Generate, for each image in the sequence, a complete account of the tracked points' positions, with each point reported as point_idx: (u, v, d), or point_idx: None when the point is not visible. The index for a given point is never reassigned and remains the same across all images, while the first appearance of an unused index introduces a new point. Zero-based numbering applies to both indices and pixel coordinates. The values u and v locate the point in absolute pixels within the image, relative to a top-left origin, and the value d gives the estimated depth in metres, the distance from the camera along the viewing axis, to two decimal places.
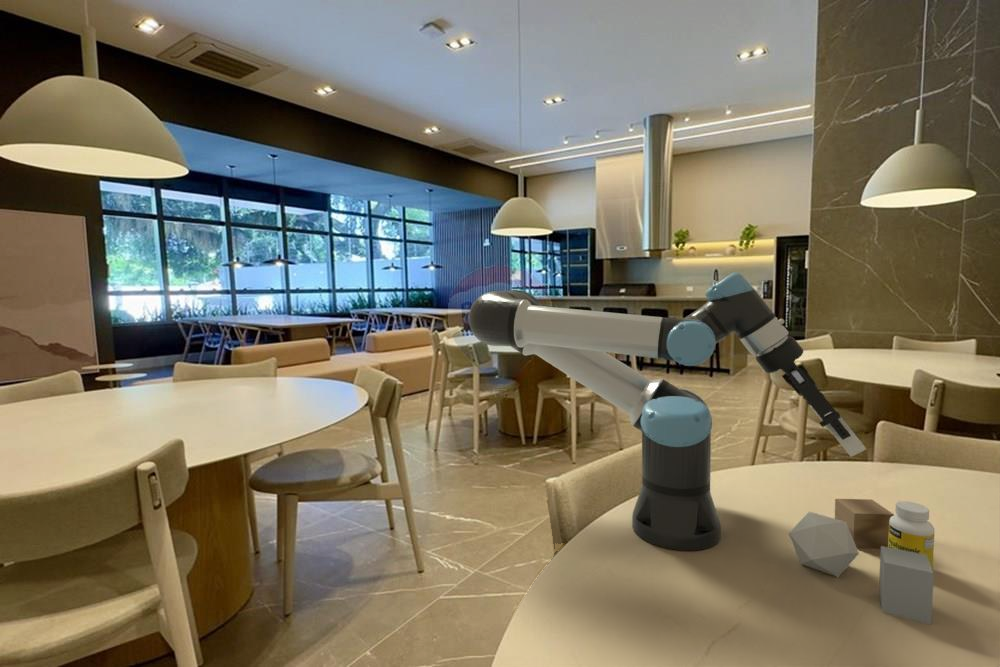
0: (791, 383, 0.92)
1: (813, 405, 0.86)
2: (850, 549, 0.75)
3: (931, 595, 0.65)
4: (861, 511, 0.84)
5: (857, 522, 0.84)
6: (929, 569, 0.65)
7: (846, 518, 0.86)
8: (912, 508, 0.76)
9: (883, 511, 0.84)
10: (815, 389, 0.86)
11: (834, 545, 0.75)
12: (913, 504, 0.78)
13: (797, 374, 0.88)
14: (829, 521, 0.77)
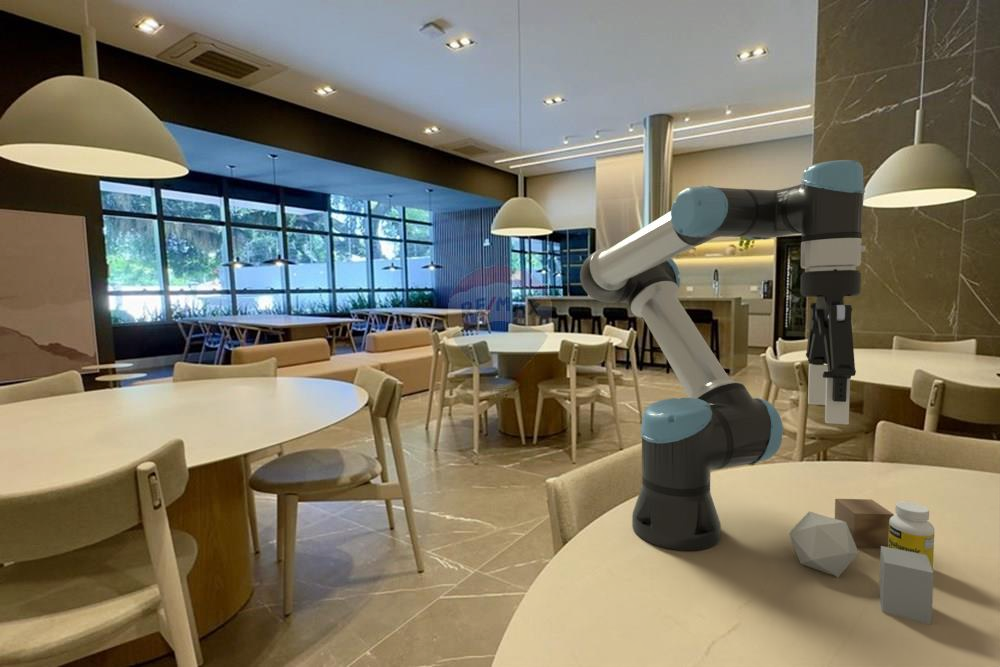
0: (821, 318, 0.74)
1: (834, 349, 0.69)
2: (850, 549, 0.75)
3: (931, 595, 0.65)
4: (861, 511, 0.84)
5: (857, 522, 0.84)
6: (929, 569, 0.65)
7: (846, 518, 0.86)
8: (912, 508, 0.76)
9: (883, 511, 0.84)
10: (849, 334, 0.68)
11: (834, 545, 0.75)
12: (913, 504, 0.78)
13: (841, 309, 0.69)
14: (829, 521, 0.77)
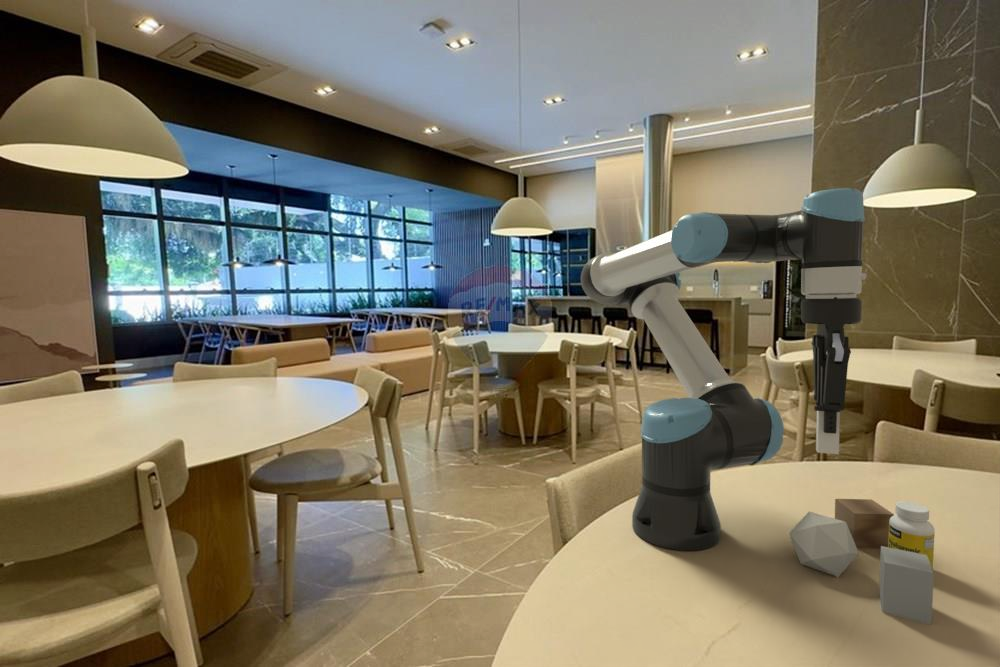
0: (820, 349, 0.74)
1: (827, 389, 0.72)
2: (850, 549, 0.75)
3: (931, 595, 0.65)
4: (861, 511, 0.84)
5: (857, 522, 0.84)
6: (929, 569, 0.65)
7: (846, 518, 0.86)
8: (912, 508, 0.76)
9: (883, 511, 0.84)
10: (844, 376, 0.71)
11: (834, 545, 0.75)
12: (913, 504, 0.78)
13: (840, 354, 0.70)
14: (829, 521, 0.77)
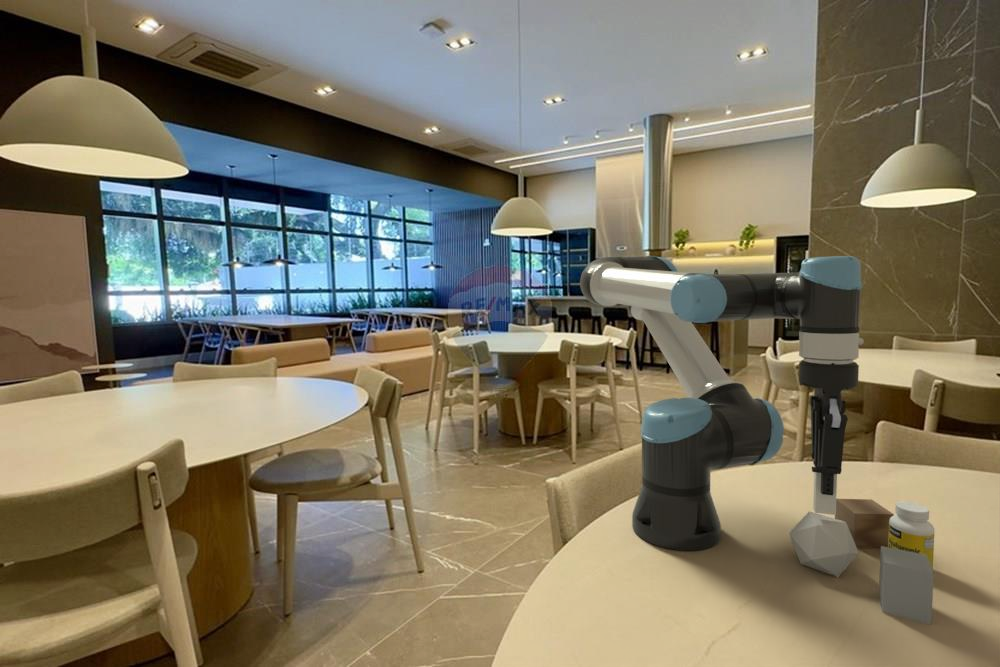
0: (818, 413, 0.75)
1: (825, 453, 0.73)
2: (850, 549, 0.75)
3: (931, 595, 0.65)
4: (861, 511, 0.84)
5: (857, 522, 0.84)
6: (929, 569, 0.65)
7: (846, 518, 0.86)
8: (912, 508, 0.76)
9: (883, 511, 0.84)
10: (841, 441, 0.72)
11: (834, 545, 0.75)
12: (913, 504, 0.78)
13: (837, 421, 0.71)
14: (828, 521, 0.77)
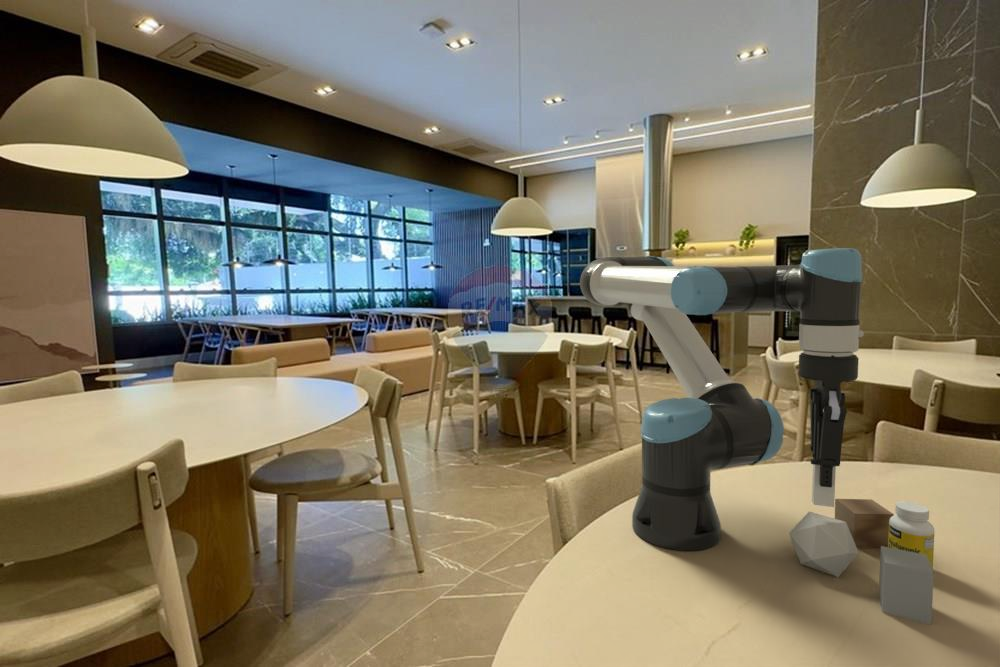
0: (817, 405, 0.75)
1: (824, 445, 0.73)
2: (850, 549, 0.75)
3: (931, 595, 0.65)
4: (861, 511, 0.84)
5: (857, 522, 0.84)
6: (929, 569, 0.65)
7: (846, 518, 0.86)
8: (912, 508, 0.76)
9: (883, 511, 0.84)
10: (840, 434, 0.72)
11: (834, 545, 0.75)
12: (913, 504, 0.78)
13: (836, 413, 0.71)
14: (829, 521, 0.77)
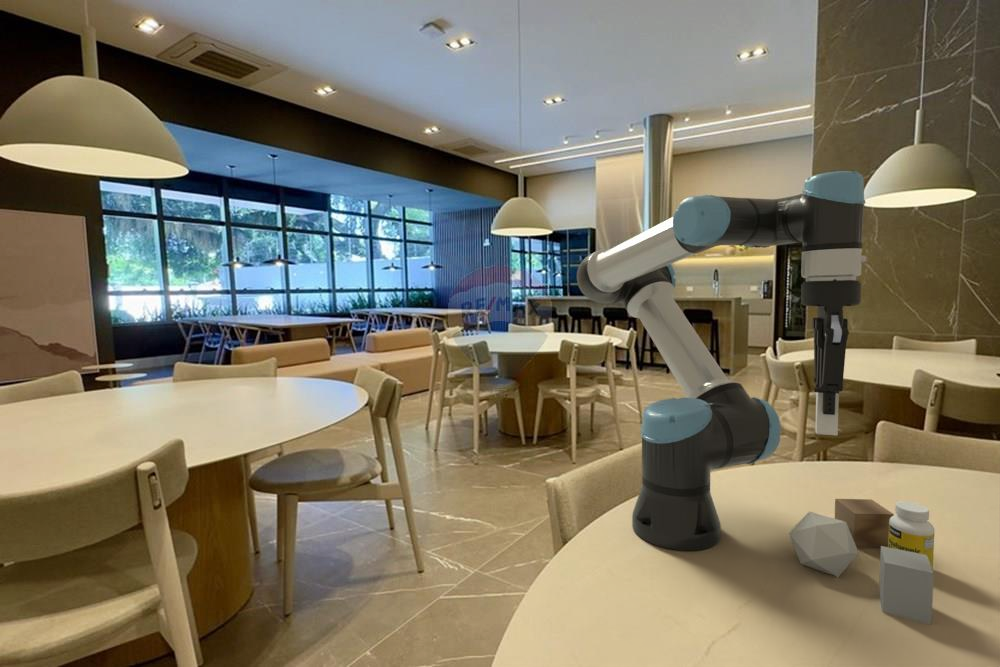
0: (820, 331, 0.75)
1: (826, 370, 0.73)
2: (850, 549, 0.75)
3: (931, 595, 0.65)
4: (861, 511, 0.84)
5: (857, 522, 0.84)
6: (929, 569, 0.65)
7: (846, 518, 0.86)
8: (912, 508, 0.76)
9: (883, 511, 0.84)
10: (842, 357, 0.72)
11: (834, 545, 0.75)
12: (912, 504, 0.78)
13: (838, 335, 0.71)
14: (829, 521, 0.77)
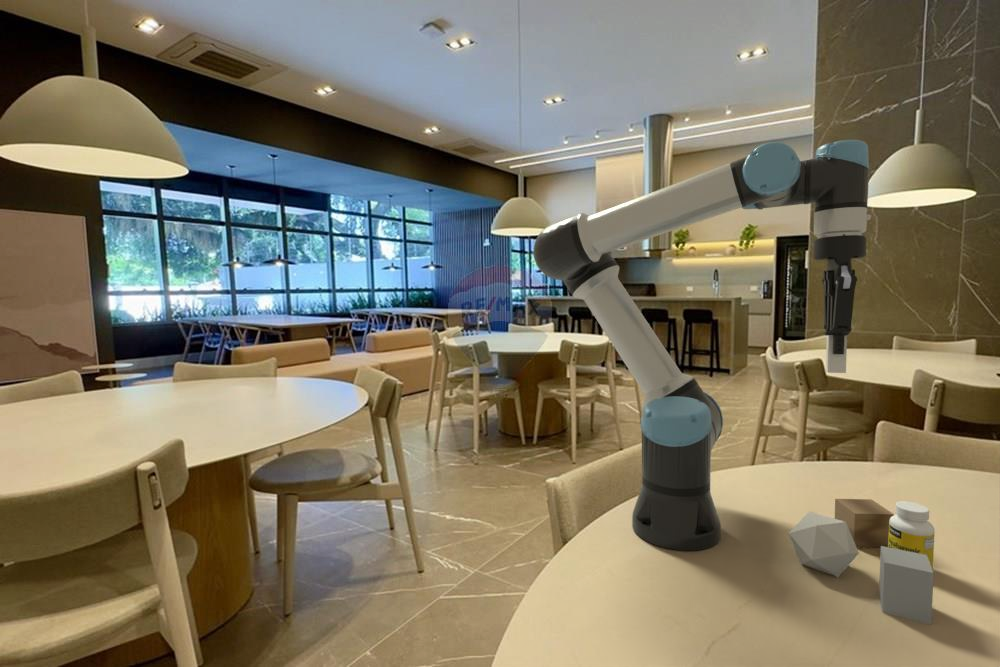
0: (830, 281, 0.86)
1: (836, 313, 0.84)
2: (850, 549, 0.75)
3: (931, 595, 0.65)
4: (861, 511, 0.84)
5: (857, 522, 0.84)
6: (929, 569, 0.65)
7: (846, 518, 0.86)
8: (912, 508, 0.76)
9: (883, 511, 0.84)
10: (851, 301, 0.83)
11: (834, 545, 0.75)
12: (913, 504, 0.78)
13: (848, 281, 0.81)
14: (828, 521, 0.77)
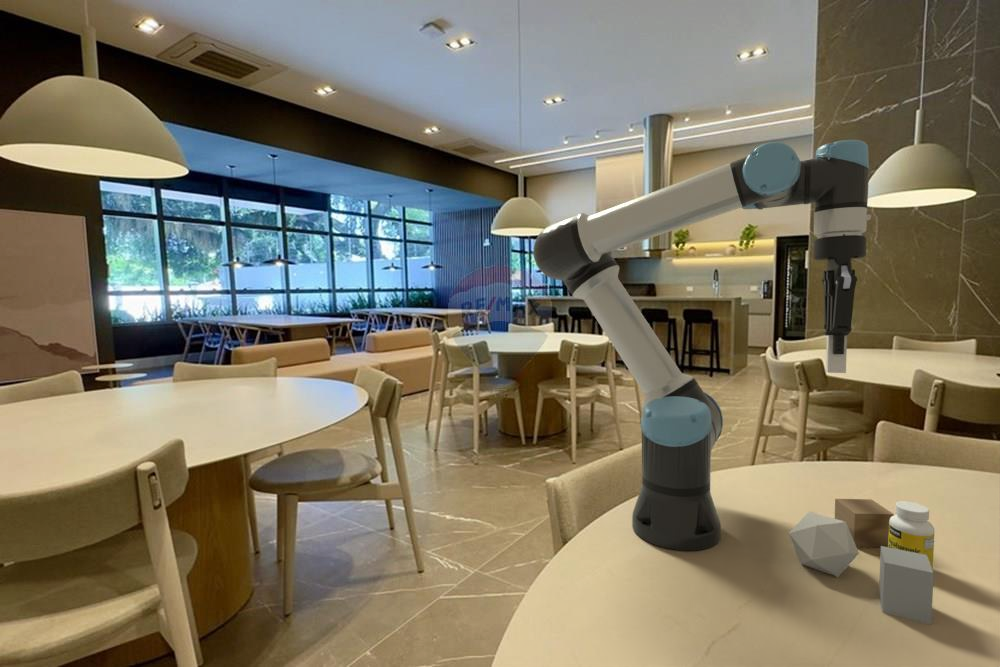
0: (830, 281, 0.86)
1: (836, 313, 0.84)
2: (850, 549, 0.75)
3: (931, 595, 0.65)
4: (861, 511, 0.84)
5: (857, 522, 0.84)
6: (929, 569, 0.65)
7: (846, 518, 0.86)
8: (912, 508, 0.76)
9: (883, 511, 0.84)
10: (851, 301, 0.83)
11: (834, 545, 0.75)
12: (913, 504, 0.78)
13: (848, 281, 0.81)
14: (829, 521, 0.77)
